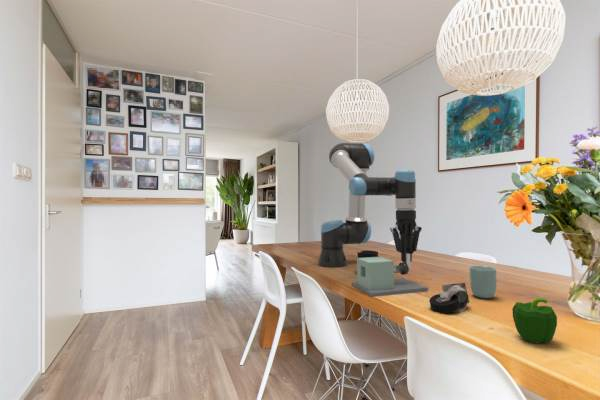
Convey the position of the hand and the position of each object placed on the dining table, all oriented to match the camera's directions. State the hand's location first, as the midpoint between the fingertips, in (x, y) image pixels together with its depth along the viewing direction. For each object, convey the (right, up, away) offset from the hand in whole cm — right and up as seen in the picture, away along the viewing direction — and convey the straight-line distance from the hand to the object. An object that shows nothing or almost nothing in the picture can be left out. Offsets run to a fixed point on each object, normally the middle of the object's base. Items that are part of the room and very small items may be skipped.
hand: (406, 269), depth 121 cm
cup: (+21, -6, -15) cm, 27 cm away
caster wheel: (+4, -6, -27) cm, 28 cm away
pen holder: (-10, -7, +23) cm, 26 cm away
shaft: (-8, -2, -2) cm, 9 cm away
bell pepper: (+13, -6, -48) cm, 51 cm away
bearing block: (-8, -6, -2) cm, 10 cm away
